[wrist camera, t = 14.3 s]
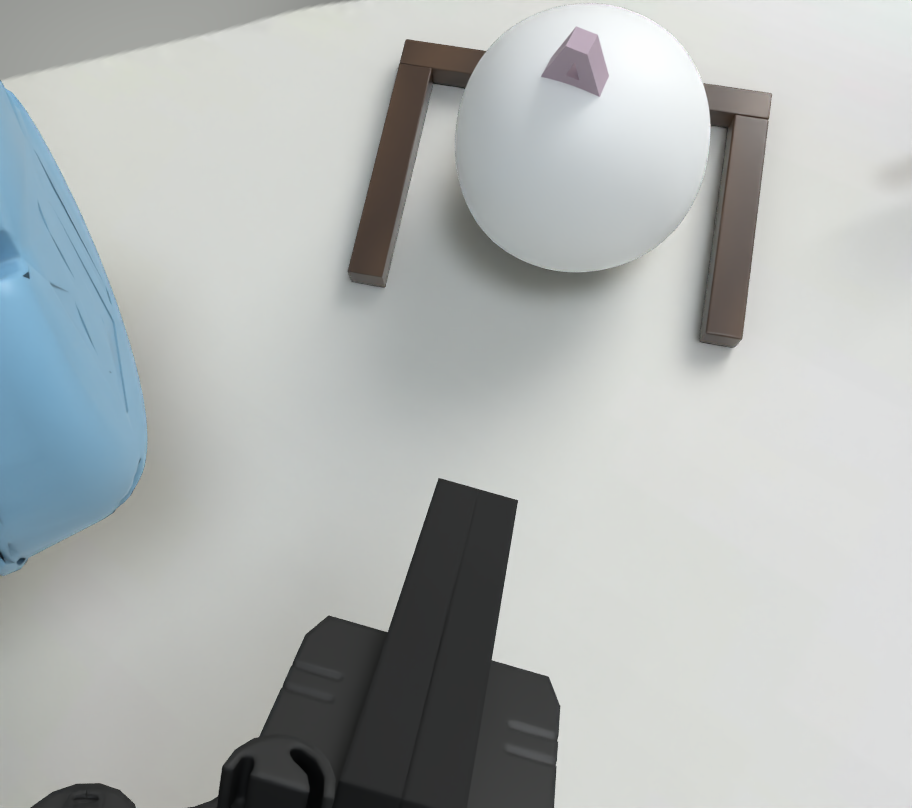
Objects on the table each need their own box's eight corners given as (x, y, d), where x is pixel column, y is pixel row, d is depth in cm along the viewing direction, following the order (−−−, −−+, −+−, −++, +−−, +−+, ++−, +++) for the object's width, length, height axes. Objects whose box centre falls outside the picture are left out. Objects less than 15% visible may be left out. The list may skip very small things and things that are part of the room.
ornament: (452, 301, 39) (436, 161, 27) (466, 105, 41) (457, -99, 30) (678, 312, 38) (761, 174, 27) (678, 113, 41) (754, -92, 29)
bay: (351, 281, 39) (347, 271, 38) (407, 54, 42) (405, 38, 41) (734, 348, 38) (742, 339, 37) (764, 108, 41) (772, 92, 40)
